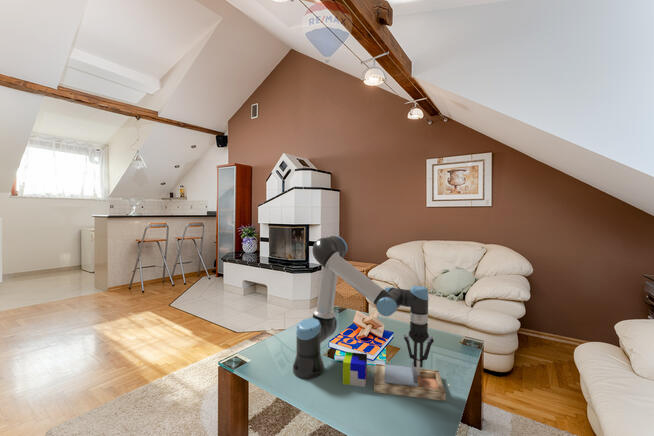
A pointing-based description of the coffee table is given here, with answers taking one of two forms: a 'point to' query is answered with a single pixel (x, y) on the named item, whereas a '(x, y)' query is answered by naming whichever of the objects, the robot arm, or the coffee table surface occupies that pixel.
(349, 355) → the puzzle toy
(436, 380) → the board
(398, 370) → the lid
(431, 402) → the coffee table surface
